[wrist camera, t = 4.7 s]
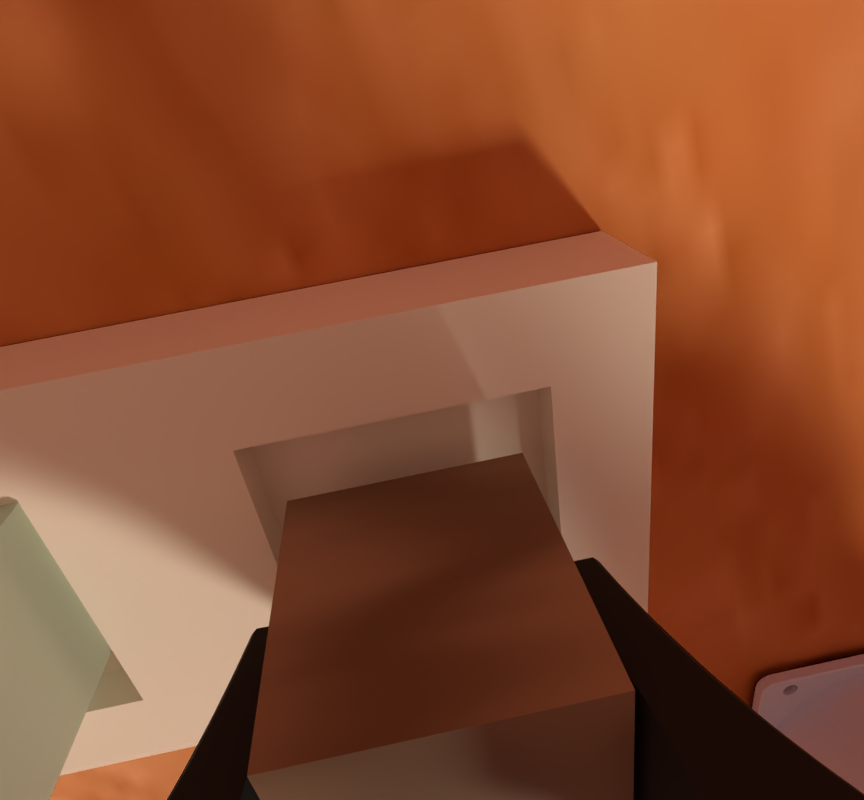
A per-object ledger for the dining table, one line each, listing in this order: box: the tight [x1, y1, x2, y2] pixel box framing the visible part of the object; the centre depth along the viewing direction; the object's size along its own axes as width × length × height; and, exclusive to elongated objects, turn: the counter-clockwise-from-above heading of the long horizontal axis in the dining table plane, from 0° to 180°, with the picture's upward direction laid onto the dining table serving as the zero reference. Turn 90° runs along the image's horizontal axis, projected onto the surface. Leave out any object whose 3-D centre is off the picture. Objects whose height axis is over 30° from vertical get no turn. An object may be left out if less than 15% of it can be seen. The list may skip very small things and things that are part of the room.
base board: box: [0, 231, 657, 775], centre depth 13 cm, size 20×10×2 cm, turn 99°
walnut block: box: [247, 453, 635, 800], centre depth 10 cm, size 4×4×5 cm
